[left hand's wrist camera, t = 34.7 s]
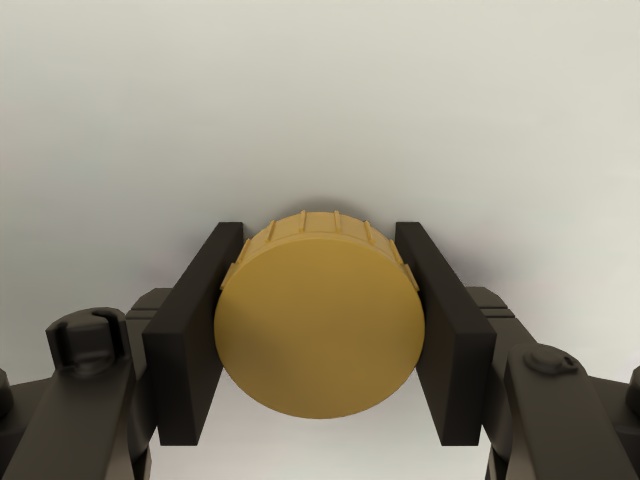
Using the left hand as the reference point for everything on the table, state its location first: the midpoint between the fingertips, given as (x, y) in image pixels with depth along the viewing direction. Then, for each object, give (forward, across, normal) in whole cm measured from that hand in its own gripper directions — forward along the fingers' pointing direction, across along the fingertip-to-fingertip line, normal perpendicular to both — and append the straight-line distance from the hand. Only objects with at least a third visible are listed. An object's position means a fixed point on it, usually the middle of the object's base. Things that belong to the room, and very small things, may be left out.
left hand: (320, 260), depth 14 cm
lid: (-4, 0, 0) cm, 4 cm away
